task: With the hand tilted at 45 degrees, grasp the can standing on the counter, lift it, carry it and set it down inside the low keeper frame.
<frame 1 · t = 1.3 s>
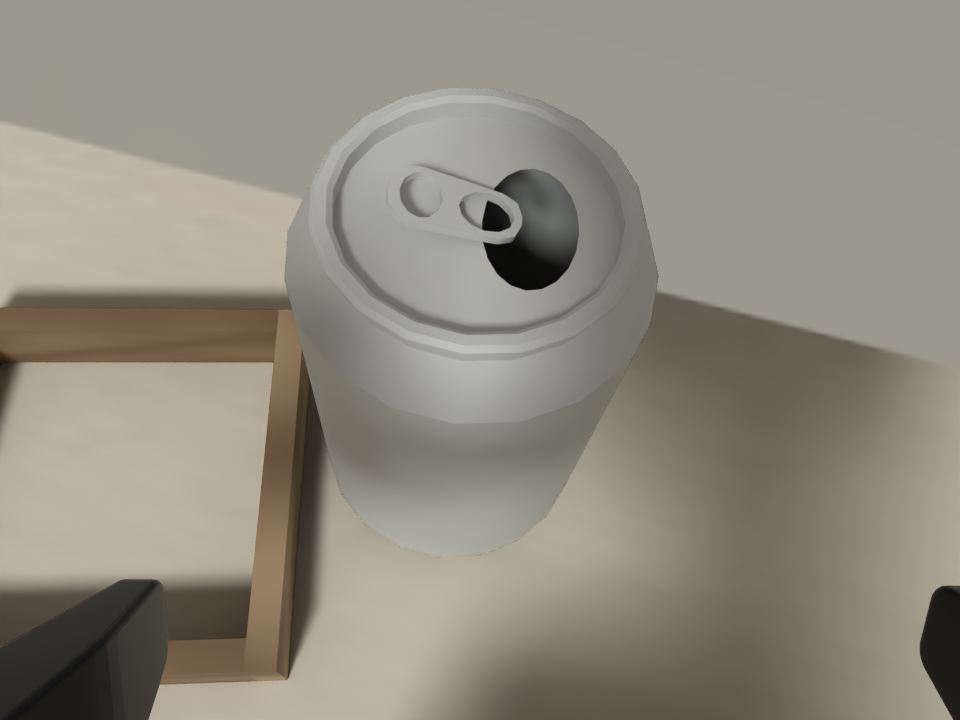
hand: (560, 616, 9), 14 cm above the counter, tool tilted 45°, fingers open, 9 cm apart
keeper frame: (120, 494, 23), on the counter
can: (450, 450, 24), on the counter
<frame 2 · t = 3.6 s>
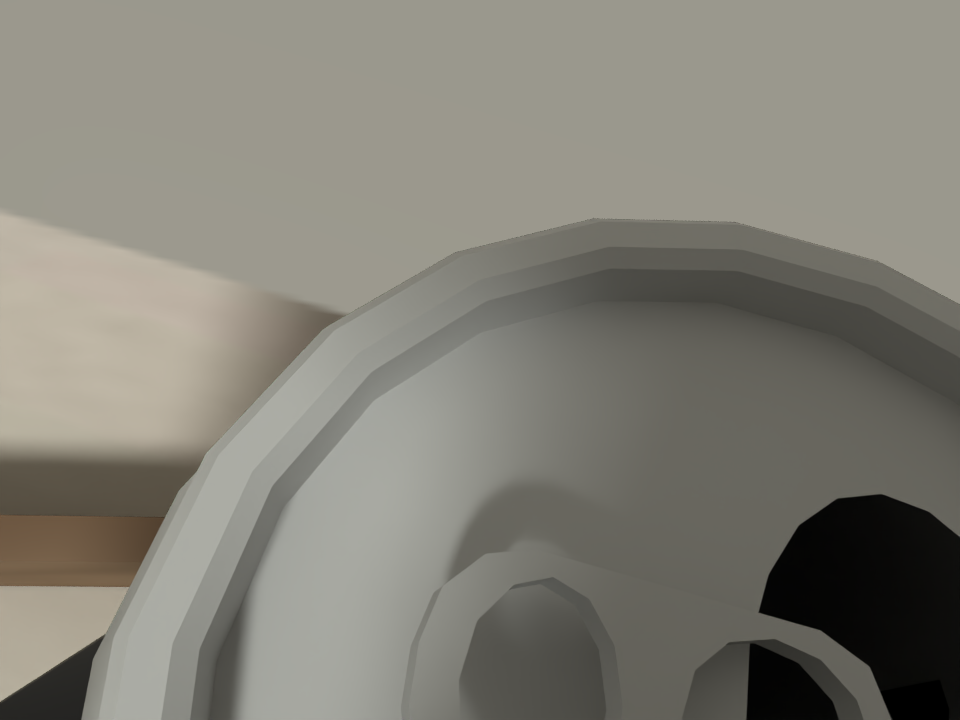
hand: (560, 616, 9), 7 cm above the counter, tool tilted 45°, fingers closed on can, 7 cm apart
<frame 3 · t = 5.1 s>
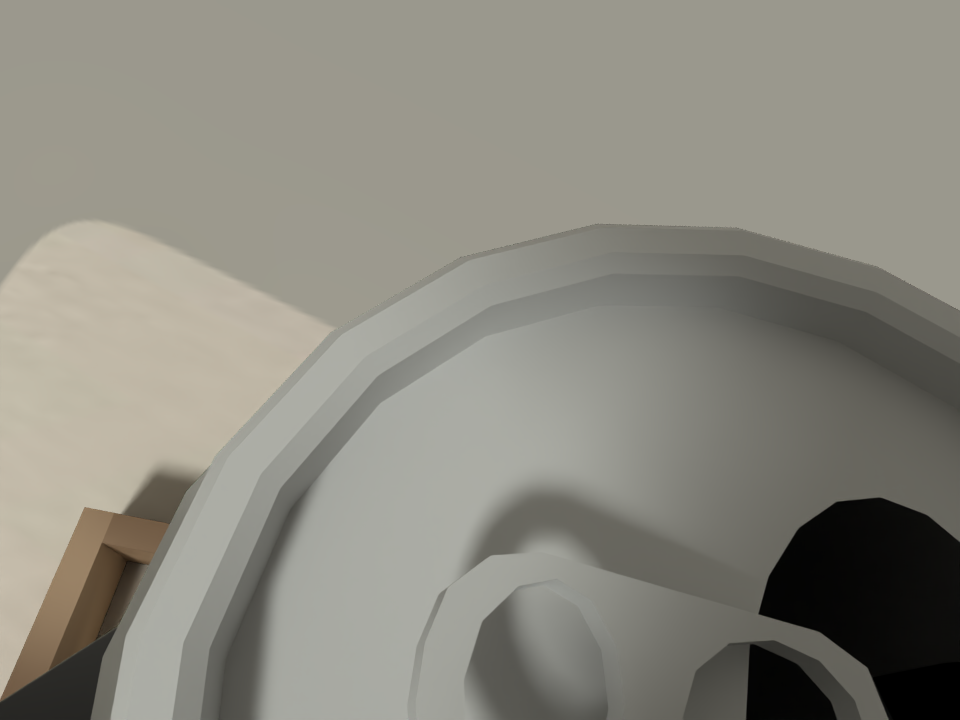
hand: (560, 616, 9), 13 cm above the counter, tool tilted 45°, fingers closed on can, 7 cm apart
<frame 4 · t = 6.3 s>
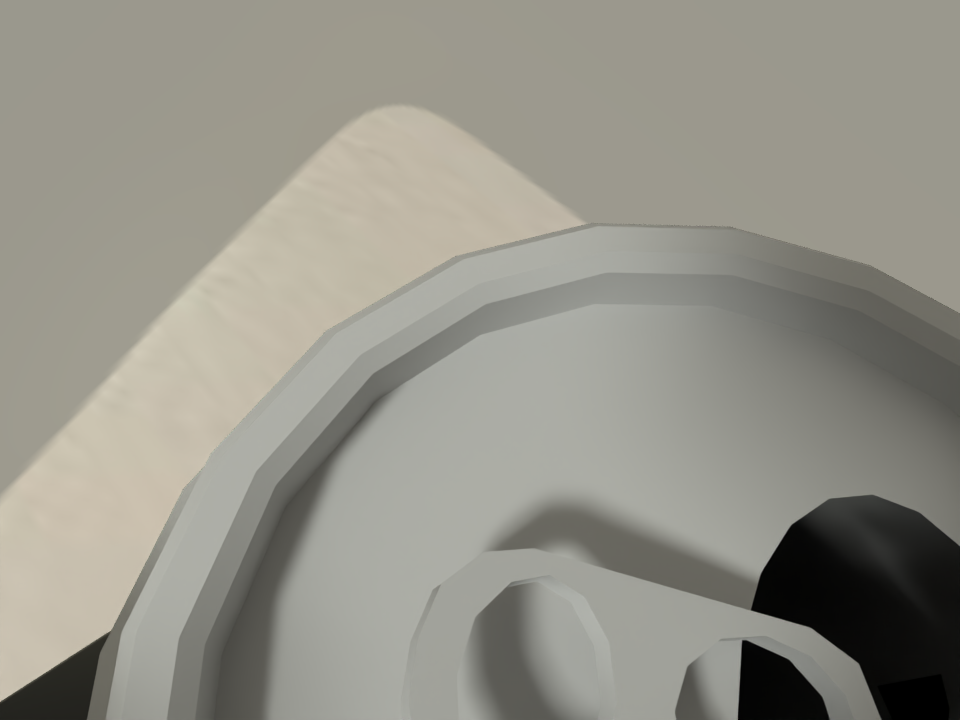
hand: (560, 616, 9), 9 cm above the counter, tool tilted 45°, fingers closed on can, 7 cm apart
when the fingers open (8 cm above the counter, at t = 7.1 s): can drops 1 cm, resting in keeper frame.
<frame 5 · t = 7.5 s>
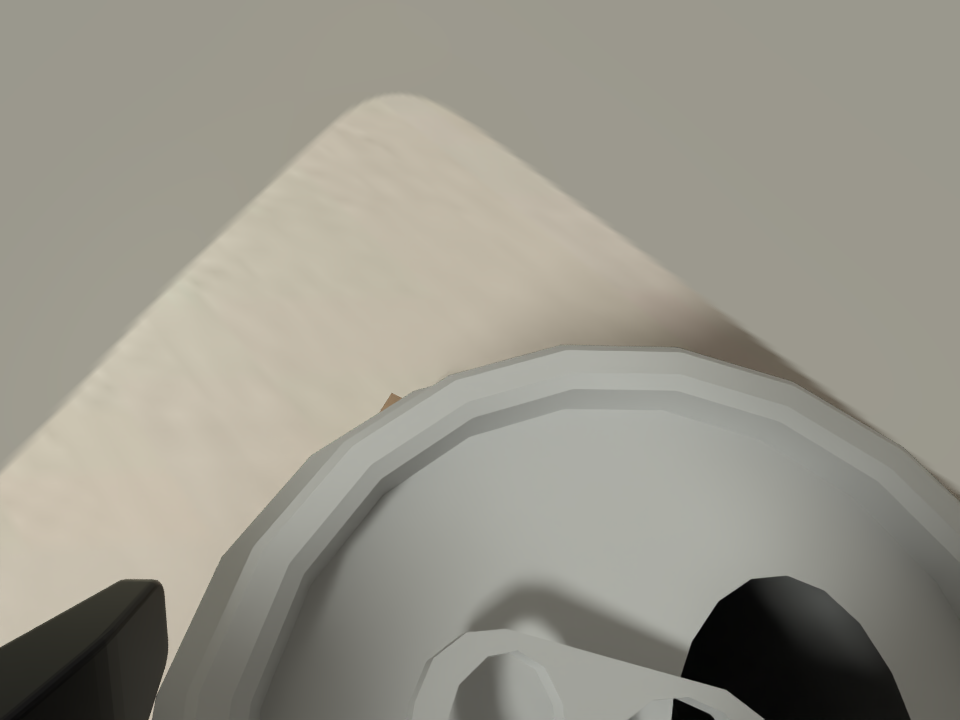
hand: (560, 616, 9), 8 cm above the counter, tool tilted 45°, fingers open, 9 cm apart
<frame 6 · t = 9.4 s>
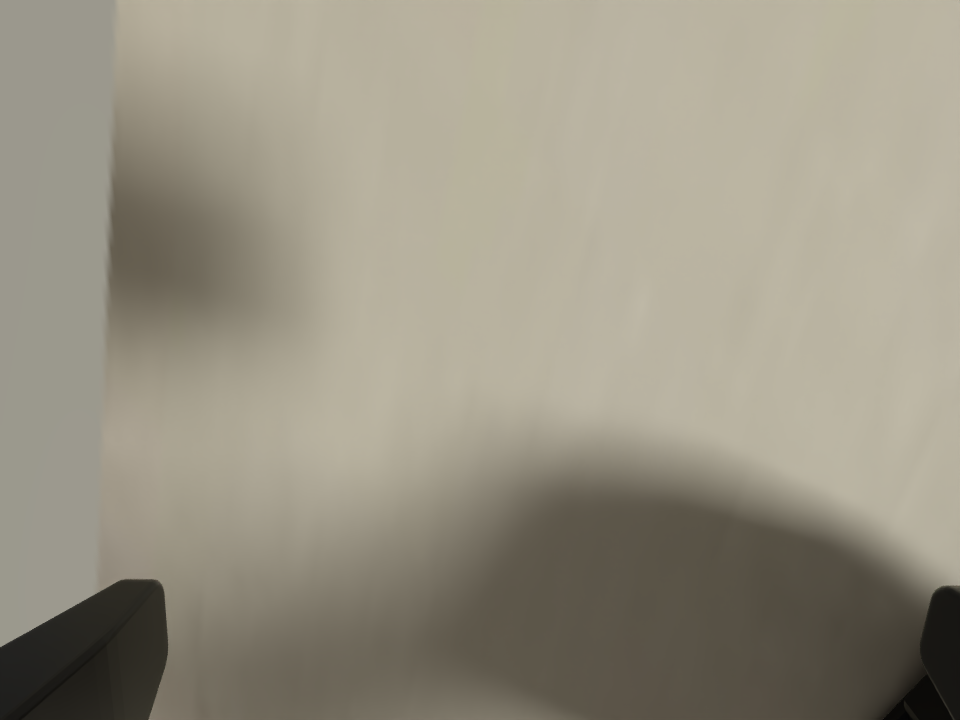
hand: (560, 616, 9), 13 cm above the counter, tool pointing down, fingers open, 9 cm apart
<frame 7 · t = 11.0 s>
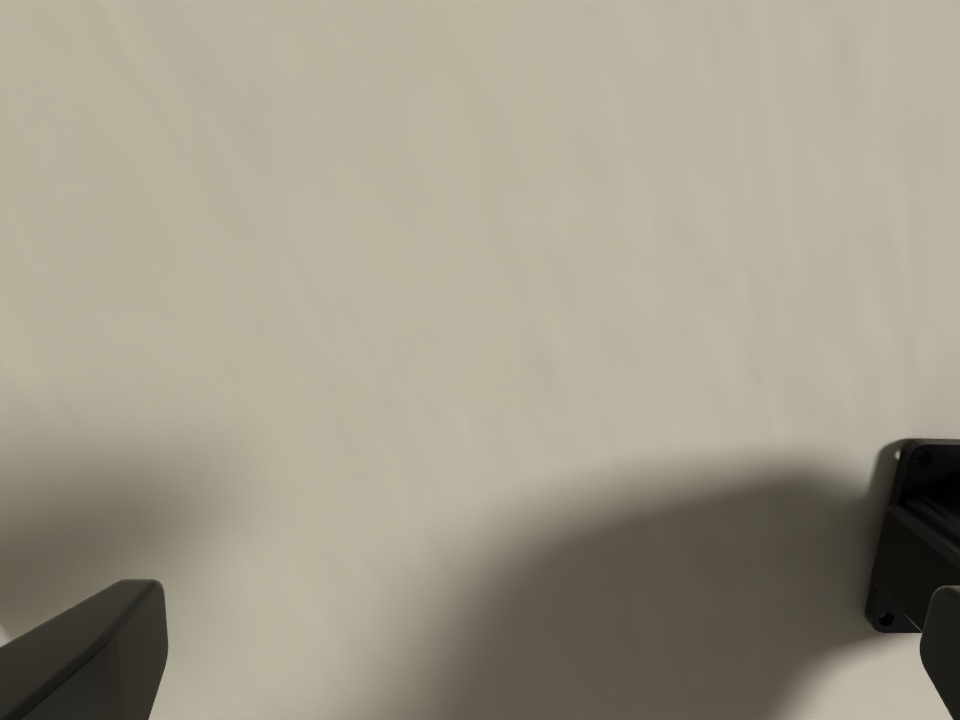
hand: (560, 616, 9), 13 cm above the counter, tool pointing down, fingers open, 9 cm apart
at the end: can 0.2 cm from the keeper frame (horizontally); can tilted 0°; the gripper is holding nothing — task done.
